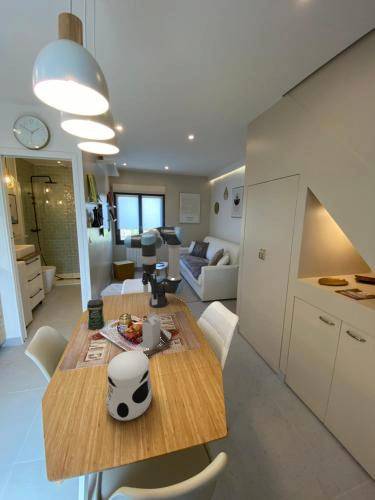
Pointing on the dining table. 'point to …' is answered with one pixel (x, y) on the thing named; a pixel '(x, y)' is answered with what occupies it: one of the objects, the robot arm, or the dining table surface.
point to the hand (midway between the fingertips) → (150, 299)
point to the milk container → (128, 385)
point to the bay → (159, 348)
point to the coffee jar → (95, 314)
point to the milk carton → (151, 331)
